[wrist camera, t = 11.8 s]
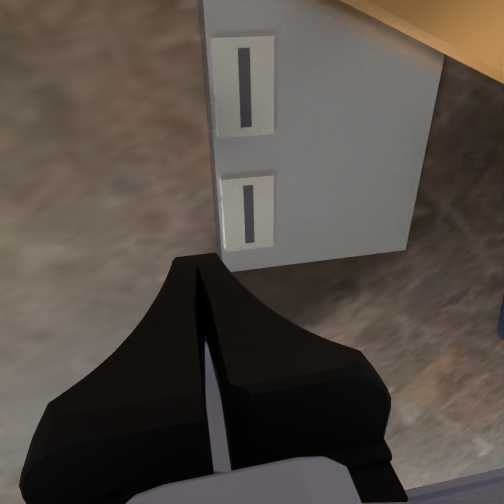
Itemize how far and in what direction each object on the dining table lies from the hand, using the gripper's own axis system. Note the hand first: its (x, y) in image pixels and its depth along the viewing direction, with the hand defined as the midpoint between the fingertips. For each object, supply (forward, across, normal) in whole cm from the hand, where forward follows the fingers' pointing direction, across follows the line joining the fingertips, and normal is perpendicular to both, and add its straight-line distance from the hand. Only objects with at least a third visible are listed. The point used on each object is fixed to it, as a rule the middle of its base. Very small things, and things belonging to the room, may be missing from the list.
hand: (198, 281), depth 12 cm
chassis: (+10, -7, -2) cm, 13 cm away
